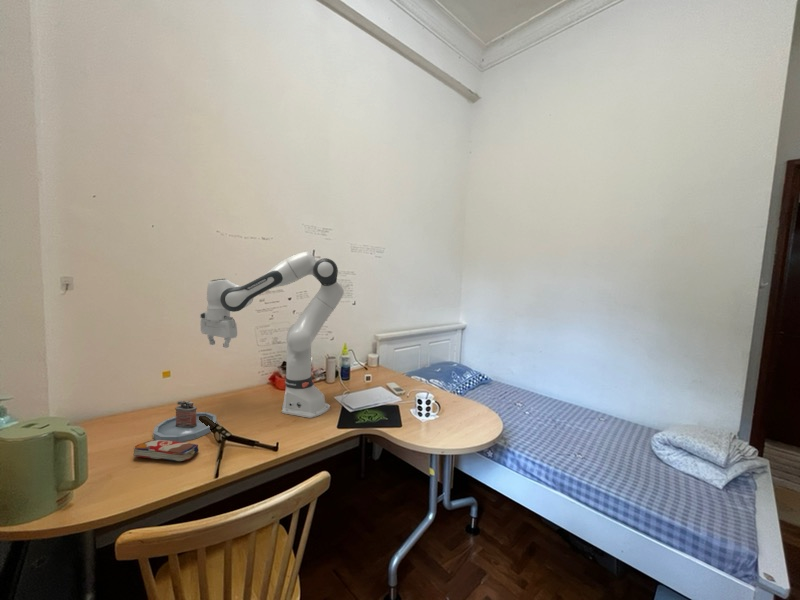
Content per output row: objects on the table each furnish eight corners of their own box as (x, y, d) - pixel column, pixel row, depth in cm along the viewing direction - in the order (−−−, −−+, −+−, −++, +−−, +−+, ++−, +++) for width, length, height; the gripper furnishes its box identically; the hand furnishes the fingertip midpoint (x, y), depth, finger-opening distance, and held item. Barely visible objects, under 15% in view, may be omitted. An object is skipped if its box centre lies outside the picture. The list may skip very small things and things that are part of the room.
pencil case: (163, 442, 110) (163, 429, 110) (204, 454, 105) (204, 440, 104) (128, 459, 100) (127, 445, 100) (171, 473, 94) (171, 458, 94)
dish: (227, 424, 125) (227, 419, 124) (173, 448, 107) (173, 442, 106) (197, 413, 133) (197, 408, 133) (142, 433, 115) (142, 428, 115)
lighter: (199, 424, 121) (198, 400, 121) (192, 428, 118) (192, 403, 117) (180, 422, 122) (179, 398, 121) (173, 427, 119) (172, 402, 118)
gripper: (241, 316, 134) (241, 347, 135) (211, 312, 143) (211, 341, 144) (227, 318, 128) (227, 350, 129) (197, 314, 137) (197, 344, 138)
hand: (219, 345), depth 137 cm, fingers open, 8 cm apart
